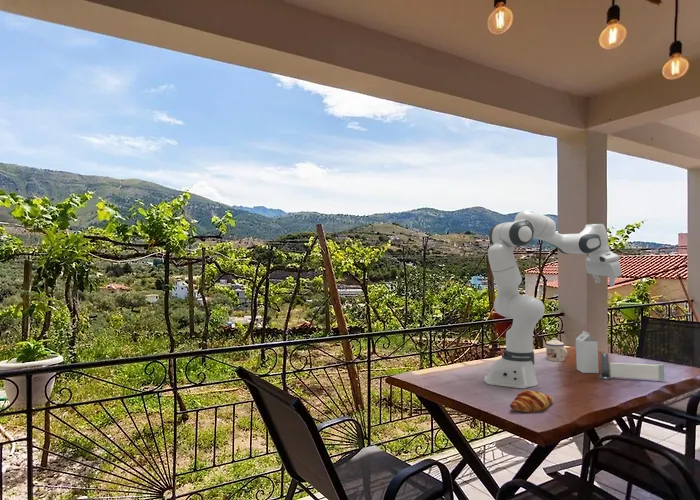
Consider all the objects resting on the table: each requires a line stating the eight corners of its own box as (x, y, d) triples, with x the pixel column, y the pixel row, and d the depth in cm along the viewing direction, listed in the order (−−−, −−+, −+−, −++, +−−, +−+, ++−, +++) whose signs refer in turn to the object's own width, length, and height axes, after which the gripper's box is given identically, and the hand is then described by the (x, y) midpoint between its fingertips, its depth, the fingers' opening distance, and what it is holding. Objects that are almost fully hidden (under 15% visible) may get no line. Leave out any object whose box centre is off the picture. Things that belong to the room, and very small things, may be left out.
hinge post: (600, 379, 189) (599, 354, 189) (597, 376, 194) (596, 352, 194) (613, 380, 188) (612, 355, 188) (610, 377, 192) (609, 352, 193)
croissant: (546, 410, 162) (537, 389, 166) (566, 404, 154) (557, 382, 158) (506, 419, 153) (498, 396, 156) (526, 414, 145) (517, 390, 149)
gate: (610, 376, 189) (610, 362, 189) (609, 375, 191) (609, 361, 191) (664, 379, 183) (663, 365, 183) (662, 378, 185) (662, 364, 185)
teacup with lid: (542, 358, 230) (541, 337, 230) (554, 357, 233) (554, 336, 233) (560, 363, 219) (559, 341, 219) (573, 361, 222) (572, 339, 222)
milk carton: (591, 369, 206) (590, 330, 206) (598, 373, 199) (597, 333, 199) (576, 369, 207) (575, 330, 207) (583, 373, 200) (581, 333, 200)
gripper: (580, 256, 210) (584, 282, 211) (608, 259, 190) (613, 288, 191) (591, 253, 211) (596, 279, 212) (621, 256, 190) (626, 285, 191)
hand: (604, 284), depth 201 cm, fingers open, 8 cm apart
